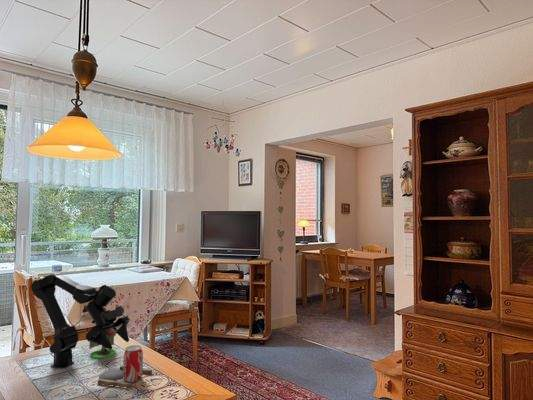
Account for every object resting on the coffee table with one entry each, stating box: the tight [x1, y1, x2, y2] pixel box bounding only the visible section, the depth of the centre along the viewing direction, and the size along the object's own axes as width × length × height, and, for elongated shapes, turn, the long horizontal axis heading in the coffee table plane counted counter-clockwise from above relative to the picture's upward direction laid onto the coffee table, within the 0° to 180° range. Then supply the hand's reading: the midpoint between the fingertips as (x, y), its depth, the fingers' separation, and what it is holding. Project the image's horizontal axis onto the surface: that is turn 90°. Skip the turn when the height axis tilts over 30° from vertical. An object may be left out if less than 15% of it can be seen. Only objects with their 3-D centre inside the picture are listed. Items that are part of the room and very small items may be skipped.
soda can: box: [122, 345, 144, 383], centre depth 146 cm, size 7×7×12 cm
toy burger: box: [88, 324, 117, 360], centre depth 172 cm, size 12×13×15 cm
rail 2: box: [119, 365, 153, 375], centre depth 153 cm, size 14×1×2 cm, turn 76°
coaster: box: [98, 368, 123, 381], centre depth 149 cm, size 10×10×1 cm
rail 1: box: [97, 378, 134, 389], centre depth 140 cm, size 14×1×2 cm, turn 76°
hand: (120, 345), depth 148 cm, fingers open, 9 cm apart
